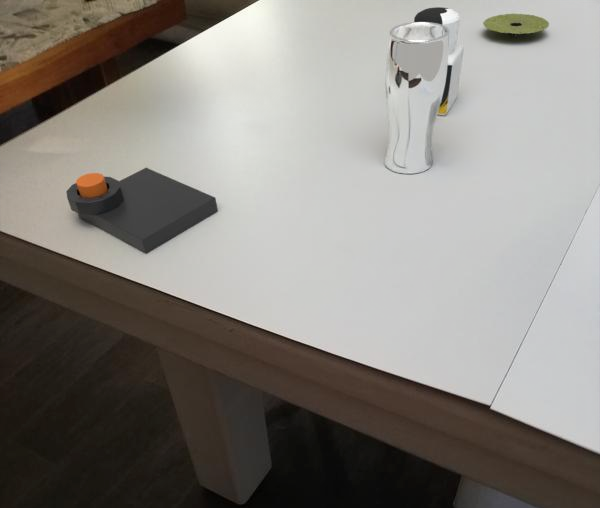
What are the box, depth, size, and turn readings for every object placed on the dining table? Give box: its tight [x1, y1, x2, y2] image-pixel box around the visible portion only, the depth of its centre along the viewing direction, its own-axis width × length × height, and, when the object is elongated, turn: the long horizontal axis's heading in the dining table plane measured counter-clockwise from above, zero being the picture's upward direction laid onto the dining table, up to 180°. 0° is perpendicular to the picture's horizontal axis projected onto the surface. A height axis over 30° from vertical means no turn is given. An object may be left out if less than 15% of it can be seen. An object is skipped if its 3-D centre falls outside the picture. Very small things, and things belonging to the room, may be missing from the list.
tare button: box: [75, 172, 108, 197], centre depth 68 cm, size 3×3×2 cm
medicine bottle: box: [413, 6, 465, 117], centre depth 83 cm, size 7×7×12 cm
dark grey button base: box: [66, 167, 219, 255], centre depth 69 cm, size 14×12×4 cm
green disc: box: [482, 13, 550, 35], centre depth 105 cm, size 11×11×2 cm
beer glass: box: [384, 21, 450, 175], centre depth 70 cm, size 7×7×15 cm
